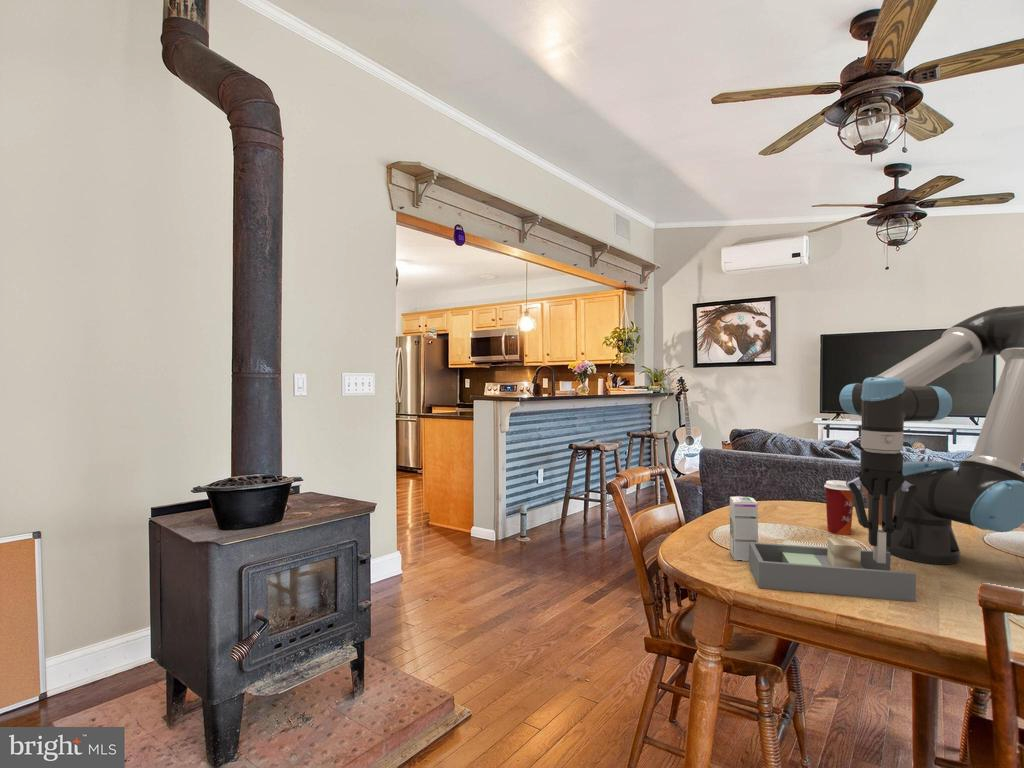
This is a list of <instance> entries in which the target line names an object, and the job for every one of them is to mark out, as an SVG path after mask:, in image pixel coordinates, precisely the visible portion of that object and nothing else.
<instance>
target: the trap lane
mask: <svg viewBox="0 0 1024 768" xmlns="http://www.w3.org/2000/svg"><path fill="white" fill-rule="evenodd" d="M827 553H828V547H824V546H823V547H822V546H810V545H807V546H806V545H795V544H793V545H792V544H780V543H778V544H777V543H769V542H768V543H766V542H758V543H753V542H749V561H748V567H749V566H750V567H749V568H750V571H751V573H753V574H752V576H753V578H754V580H755V582H756V585H757V587H758V589H765V590H766V589H767V590H769V589H770V590H777V591H778V590H780V591H791V592H800V591H802V593H811V592H815V593H814V594H825V595H834V594H835V596H836V594H838V596H847V597H858V598H867V599H870V598H871V599H879V600H880V599H881V600H882V599H884V600H891V601H892V600H893V601H903V602H904V601H905V602H914V601H915V602H917V600H916V599H917V573H916V572H912V571H900V570H899V571H898V570H897V571H896V570H891V562H892V561H891V559H892V558H891V556H892V554H891V553H890V552H887V551H886V564H885V563H877V562H876V561H875V560H874V559H873V550H868V549H867V550H866V549H861V568H848V567H835V566H832V565H831V564H830V563H829V562H828V560H827Z"/></svg>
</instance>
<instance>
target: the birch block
mask: <svg viewBox="0 0 1024 768" xmlns="http://www.w3.org/2000/svg"><path fill="white" fill-rule="evenodd" d="M827 548H828V553H827V560H828V562H829V563H830V564H831V565H832V566H835V567H848V568H861V550H862V546H861V545H860V544H859V543H858V542H856V540H854V539H852V538H850V539H849V538H837V537H836V538H833V537H827Z"/></svg>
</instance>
